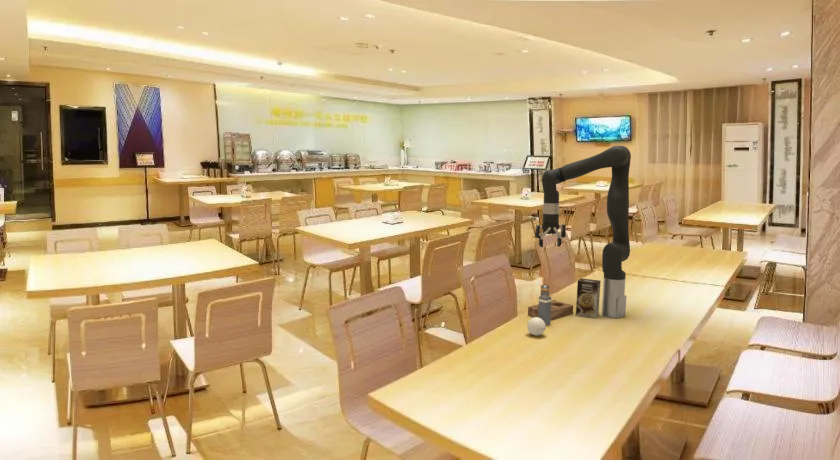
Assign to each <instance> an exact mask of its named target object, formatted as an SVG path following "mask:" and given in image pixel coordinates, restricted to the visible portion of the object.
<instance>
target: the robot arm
mask: <svg viewBox="0 0 840 460" xmlns="http://www.w3.org/2000/svg"><path fill="white" fill-rule="evenodd" d="M631 160H632V155H631V151H630V149H629V148H628V147H626V146H624V145H613V146H611V147H610V148H608V149H606V150H604V151H602V152H600V153H598V154H595V155H593V156H590V157H588V158H584V159H580V160H577V161H574V162H570V163H567V164H565V165H562V166H561V167H559V168H554V169H547V170H545V171H544V172H543V174H542V177H541V184H542V191H543V204H542V224H541V225H539V224H536V225H535V232H534V233H535V234H534V237H535V238H536V239H538V246H539V247H540V248H543V247H544V238H545V237H546V236H547V235H555V236H556V237H557V240H556V241H557V242H556V245H557V247H559V248H560V247H561V246H562V239H563V238H566V237H567V236H566V235H567V233H566V231H567V230H566V224H563V223H562V224H560V211H561V210H560V193H559V191H558V190H557V185H559V184H562V183H563V182H566V181H569V180H573V179H576V178H580V177H582V176H586V175H588V174H589V173H593V172H594V171H598V170H600V169H606V168H607V169H608V168H611V181H610V185H609V188H608V192H607V196H606V197H607V198H606V214H607V217H608V220H609V222H610V225H611V227H612V242H609V243H606V245H605V246H604V247H603V249H602V254H601V259H602V260H601V263H602V264H601V265H602V266H601V267H602V268H601V270H602V273H603V281H602V282H603V283H602V284H603V285H602V286H603V287H602V301H601V303H602V305H601V315H602V316H603V317H606V318H614V319H621V318H624V317H626V309H627V295H626V294H625V292H626V278H627V277H626V275H627V274H626V272H625V270H623V267H622V266H623V264H622V263H623V262H625V261H627V260H628V259H629V257H630V254H631V247H630V235H629V234H630V233H629V225H630V224H629V219H630V218H629V212H630V196H629V195H630V186H629V185H630V182H629V176H630V175H629V174H630V168H631V167H630V165H631ZM559 229H560V232H559ZM541 230H542V231H541ZM540 231H541V232H540Z"/></svg>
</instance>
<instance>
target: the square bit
mask: <svg viewBox="0 0 840 460" xmlns="http://www.w3.org/2000/svg"><path fill="white" fill-rule="evenodd" d="M551 301H552V296H550V295H549V296H546V295H543V296H541V295H540V296H538V304H539V315H538V318H541V319H542V320H543V321H544V322H545V326H546V327H547V326H549V325H551V320H550V319H551ZM546 324H547V325H546Z"/></svg>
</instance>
